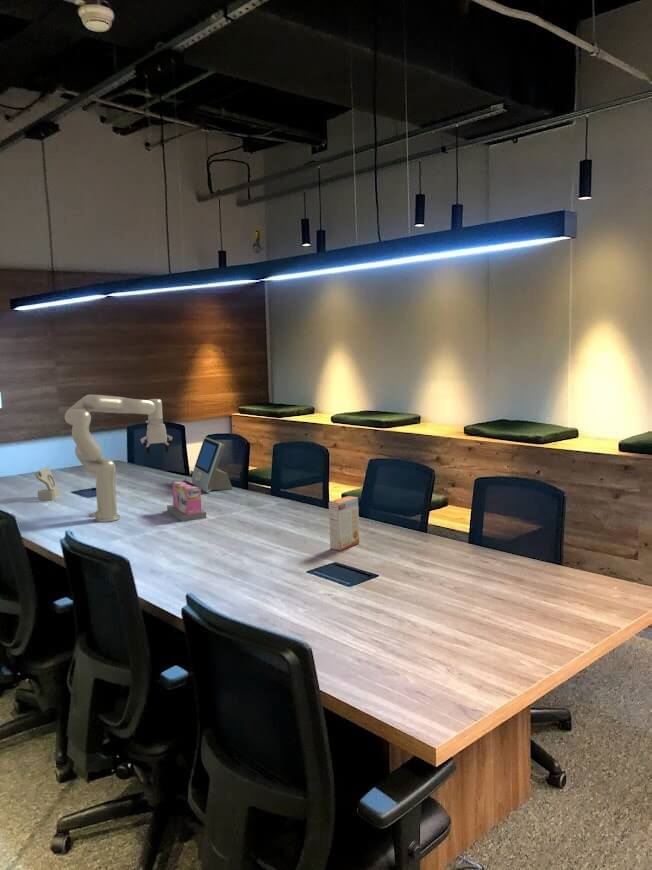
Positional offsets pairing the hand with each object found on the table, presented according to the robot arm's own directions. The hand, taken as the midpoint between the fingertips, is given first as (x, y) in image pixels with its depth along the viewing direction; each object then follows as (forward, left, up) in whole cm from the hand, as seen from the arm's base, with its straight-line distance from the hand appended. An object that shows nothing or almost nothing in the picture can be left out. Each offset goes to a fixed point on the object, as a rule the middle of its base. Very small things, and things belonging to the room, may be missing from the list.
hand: (157, 453), depth 387 cm
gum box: (+8, -25, -28) cm, 38 cm away
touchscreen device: (+42, +39, -31) cm, 65 cm away
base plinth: (+8, -22, -30) cm, 38 cm away
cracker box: (+50, -118, -31) cm, 132 cm away
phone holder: (-49, +61, -31) cm, 84 cm away
